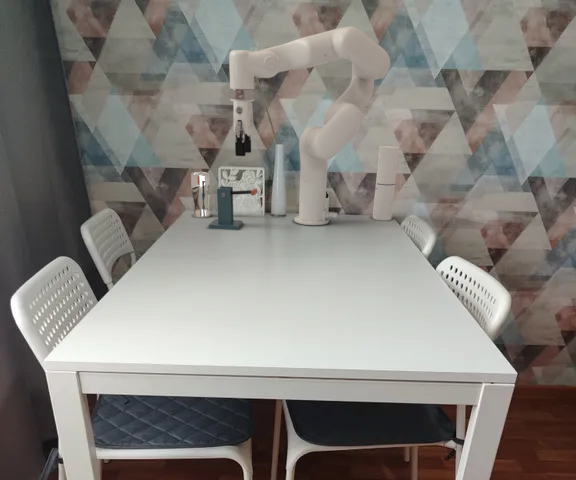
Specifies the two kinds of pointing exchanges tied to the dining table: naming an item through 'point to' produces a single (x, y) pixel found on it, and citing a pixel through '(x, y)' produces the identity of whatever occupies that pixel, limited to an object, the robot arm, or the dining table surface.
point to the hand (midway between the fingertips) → (243, 154)
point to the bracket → (225, 210)
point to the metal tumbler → (201, 193)
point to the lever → (244, 192)
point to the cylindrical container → (385, 182)
